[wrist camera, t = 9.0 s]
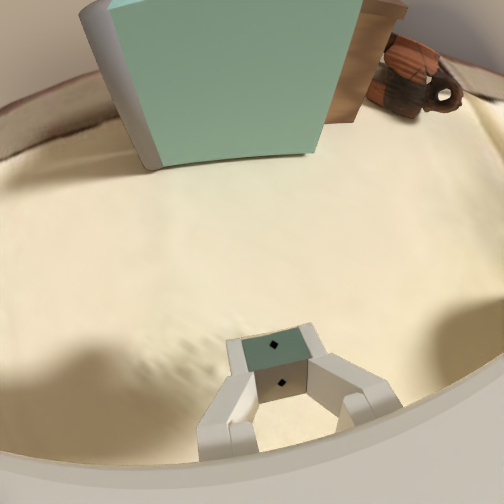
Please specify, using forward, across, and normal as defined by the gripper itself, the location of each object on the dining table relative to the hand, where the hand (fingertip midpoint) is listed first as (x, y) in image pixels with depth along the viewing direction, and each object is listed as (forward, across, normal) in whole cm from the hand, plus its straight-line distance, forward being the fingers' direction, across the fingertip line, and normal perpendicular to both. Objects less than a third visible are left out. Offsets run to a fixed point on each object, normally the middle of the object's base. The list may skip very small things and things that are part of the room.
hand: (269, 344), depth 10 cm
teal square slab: (+17, -1, -4) cm, 17 cm away
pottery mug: (+21, -21, -8) cm, 31 cm away
